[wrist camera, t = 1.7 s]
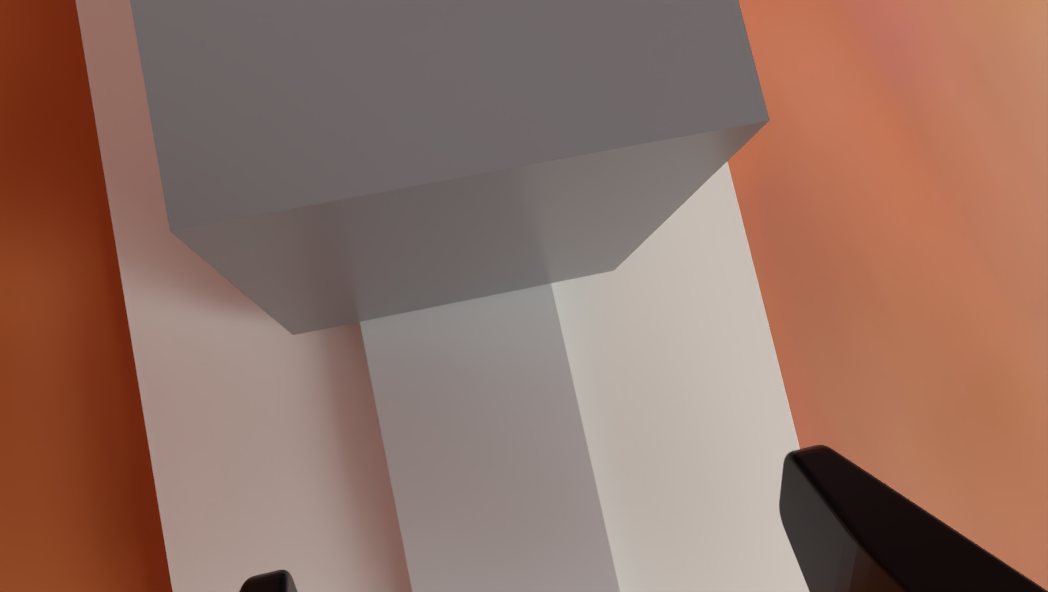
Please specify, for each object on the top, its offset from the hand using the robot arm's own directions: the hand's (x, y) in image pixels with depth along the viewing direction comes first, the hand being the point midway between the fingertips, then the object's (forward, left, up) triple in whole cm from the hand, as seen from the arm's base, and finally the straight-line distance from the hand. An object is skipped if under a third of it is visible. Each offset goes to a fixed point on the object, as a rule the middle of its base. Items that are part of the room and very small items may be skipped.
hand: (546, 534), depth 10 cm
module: (+5, +1, -8) cm, 10 cm away
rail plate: (+6, +2, -10) cm, 12 cm away
